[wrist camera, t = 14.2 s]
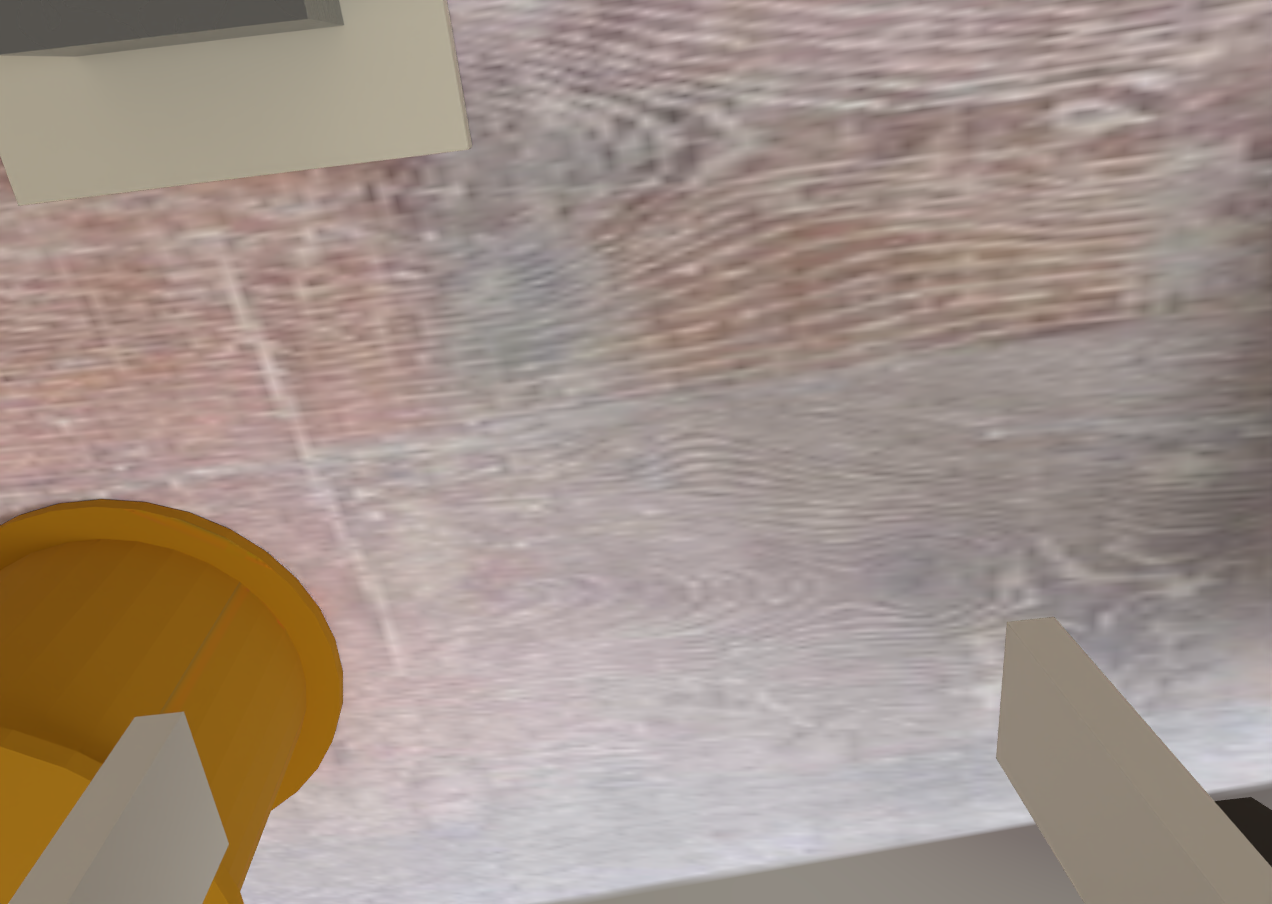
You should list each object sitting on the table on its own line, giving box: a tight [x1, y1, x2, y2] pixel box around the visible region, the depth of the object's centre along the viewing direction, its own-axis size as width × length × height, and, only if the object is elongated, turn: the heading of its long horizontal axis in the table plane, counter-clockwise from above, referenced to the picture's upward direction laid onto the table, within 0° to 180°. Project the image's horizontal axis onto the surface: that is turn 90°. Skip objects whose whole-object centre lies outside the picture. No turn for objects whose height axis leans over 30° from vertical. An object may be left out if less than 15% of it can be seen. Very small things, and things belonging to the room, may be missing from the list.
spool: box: [0, 499, 343, 904], centre depth 36 cm, size 18×18×15 cm
